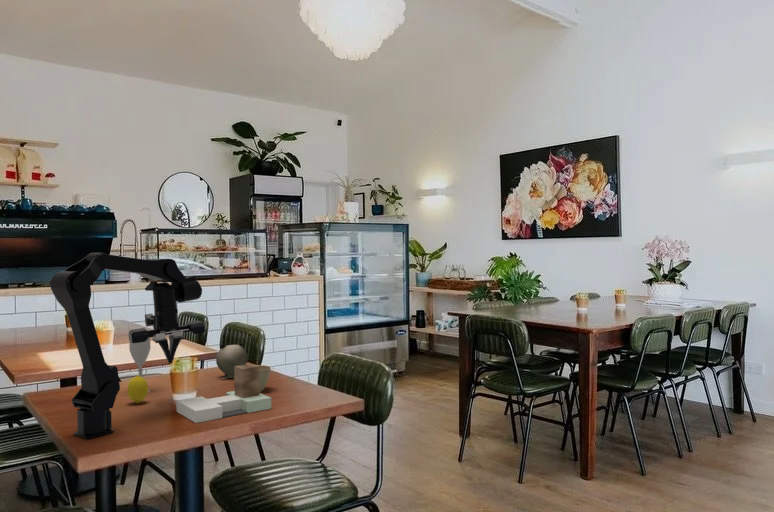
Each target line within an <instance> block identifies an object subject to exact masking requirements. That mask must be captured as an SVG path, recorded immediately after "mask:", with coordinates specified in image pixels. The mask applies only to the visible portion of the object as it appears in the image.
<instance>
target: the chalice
mask: <svg viewBox="0 0 774 512" xmlns="http://www.w3.org/2000/svg"><path fill="white" fill-rule="evenodd" d="M127 336H128V337H129V333H127ZM128 342H129V345H128V346H129V353H130V356H131V357H132V360H133V361H134V363H135V364H137V365H138V369H137V372H138V375H139V376H140V377H143V378H144V375H143V372H144V369H143V365H144V364H145V363H146V361H147V359H148V357H149V355H150V352H151V337H149V338H148V339H147V340H146V342H140V343H131V342H130V341H128ZM150 391H151V390H149V389H148V393H150Z"/></svg>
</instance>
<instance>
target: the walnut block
mask: <svg viewBox="0 0 774 512" xmlns="http://www.w3.org/2000/svg"><path fill="white" fill-rule="evenodd" d="M256 365H257V364H253V363H248V364H247V363H246V365H240V366H234V378H233V380H234V391H235V395H236V396H238V397H241V398H247V397H253V396H259V393H260V392H259V366H256Z"/></svg>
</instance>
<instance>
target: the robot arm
mask: <svg viewBox="0 0 774 512" xmlns="http://www.w3.org/2000/svg"><path fill="white" fill-rule="evenodd" d="M104 271H111V272H122V273H128V274H129V273H130V274H137V275H140V276H142V277H144V278H146V279H149V280H151V281H150V283H149V284H148V285H147V286H145V288H144V291H146V292H147V291H151V292H152V299H153V309H154V313H145V314H144V324H145V327H153V329H151V330H150V329H149V330H147V329H146V328H145V327H139V328H134V329H130V330H129V331H128V334H129V336H128V340H129V341H130V342H131V343H140V342H146V340H147V339H148V338H149V337H150V338H151V339H152V341H153V342H154V343H156V344H159V346H160V348H161V349H162V352H163V354H164V357H165V358H166V360H167V363H168V364H173V361H174V358H175V356H176V353H177V349H178V347H179V344H180V342H181V341H182V340H184V339H185V336H184V333H189V332H191V334H193V335H200V334H205V333H206V332H207V331H206V324H205V323H204V322H202V321H201V320H199V319H198V320H192V321H186V322H185V324H184V325H179V317H178V316H179V314H178V313H179V312H178V311H179V310H178V303H179V304H180V303H185V302H186V303H187V302H191V301H197V300H199V299H201V297H202V294H203V287H202V286H201V284H200V282H199V281H198V280H197V278H196V275H188V276H187V275H186V276H185V275H184V273H183V272H182V271H181V270H180V268H179V266H178V264H177V262H176V260H175V259H173V258H145V259H141V258H136V257H130V256H123V255H115V254H109V253H108V254H107V253H105V252H90V253H88V254H87V255H86V256H85V257H83V258H82V259H80V260H79V261H77V262H75V263H74V264H72V265H69V266H68V267H67V268H65V269H64V270H61V271H58V272H56V273H55V274H54V275H52V278H51V279H50V281H49V286H50V290H51V291H52V294H53V296H54V298H55V300H56V301H57V302H58V303H59V305H60V306H61V307H62V308H63V310H65V312H66V315H67V317H68V322H69V325H70V328H71V331H72V336H73V338H74V341H75V345H76V348H77V352H78V353H79V357H80V362H81V364H82V372H81V375H80V384H81V387H80V388H79V390H78V391H77V393H76V394H75V395H74V396H73V397H72V399H71V403H72V406H73V408H77V410H76V412H77V413H76V414H77V416H76V417H77V418H76V419H77V425H76V426H77V431H74V432H73V435H75V436H77V437H78V436H79V437H81V438H83V439H85V440H87V439H92V438H93V439H94V438H97V437H100V436H105V435H107V434H111V433H113V432H114V429H112V428H113V427H112V425H113V424H112V423H113V422H112V419H113V417H112V411H111V409H113V408H114V405H115V401H116V398H117V395H118V394H119V392H120V391H121V383H122V380H121V378H120V376H119V370H118V367H117V366H115V365H110V364H108V363H107V362H106V360H105V358H104V354H103V351H102V346H101V343H100V340H99V337H98V334H97V330H96V327H95V326H96V325H95V322H94V320H93V316H92V313H91V310H90V302H91V297H92V288H91V286H92V285H93V284H94V283H95V282H96V281H97V280H98V279H99V277H100V276H101V275H102V273H103V272H104ZM158 281H160V282H158ZM166 336H168V339H167V338H166ZM129 341H128V342H129Z"/></svg>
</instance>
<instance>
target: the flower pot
mask: <svg viewBox="0 0 774 512" xmlns="http://www.w3.org/2000/svg"><path fill="white" fill-rule="evenodd" d="M255 365H256V366H259V393H261V392H263V391H264V389H265V388H266V386H267V384H268V382H269V378H270V375H271V370H272V367H271V366H269V365H264V364H263V365H262V364H255Z"/></svg>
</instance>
